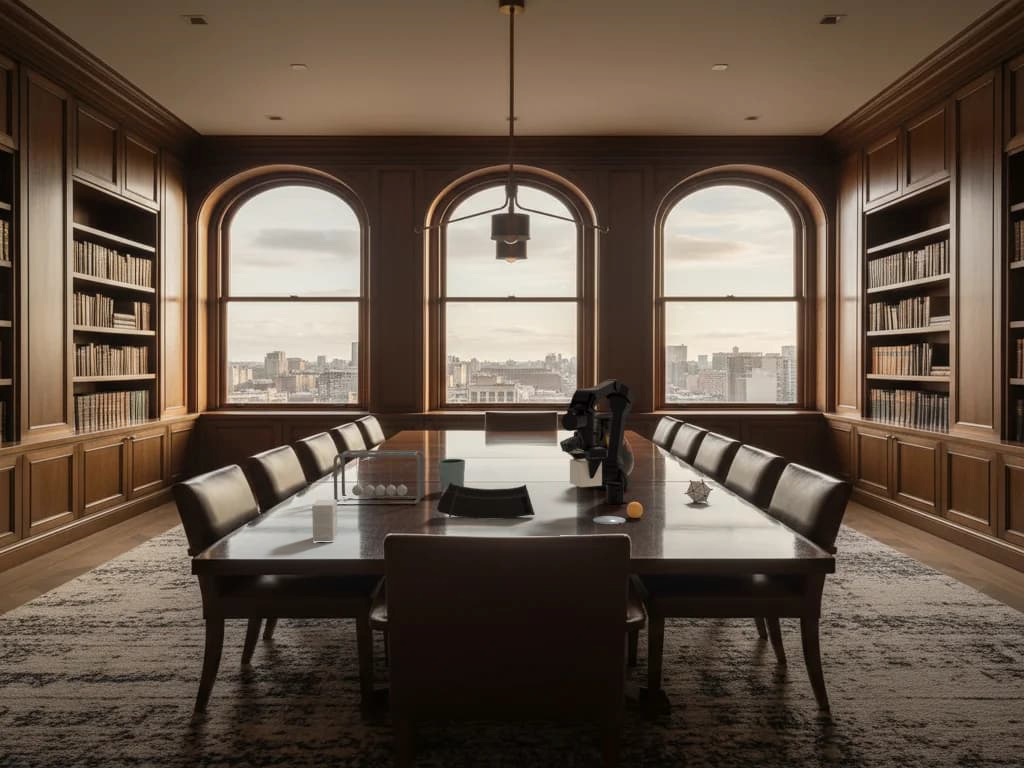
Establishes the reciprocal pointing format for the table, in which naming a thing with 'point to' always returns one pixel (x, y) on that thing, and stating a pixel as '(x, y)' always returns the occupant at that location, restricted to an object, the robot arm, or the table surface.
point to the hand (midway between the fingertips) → (585, 476)
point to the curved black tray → (485, 502)
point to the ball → (634, 509)
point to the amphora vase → (603, 441)
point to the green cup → (451, 472)
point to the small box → (324, 520)
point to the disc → (609, 520)
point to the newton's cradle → (380, 488)
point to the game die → (698, 491)
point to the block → (584, 474)
